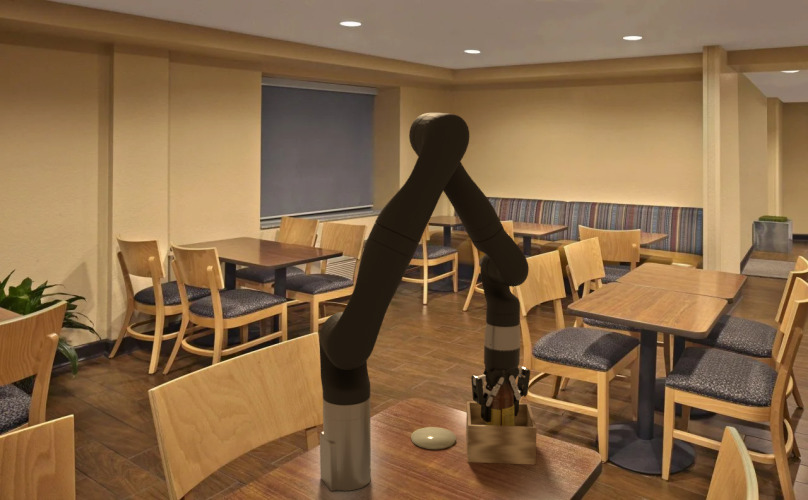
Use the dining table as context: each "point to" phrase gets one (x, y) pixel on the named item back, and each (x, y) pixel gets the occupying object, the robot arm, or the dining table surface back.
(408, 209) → the robot arm
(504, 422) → the sauce bottle
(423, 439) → the saucer
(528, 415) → the caddy
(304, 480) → the dining table surface
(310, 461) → the dining table surface
